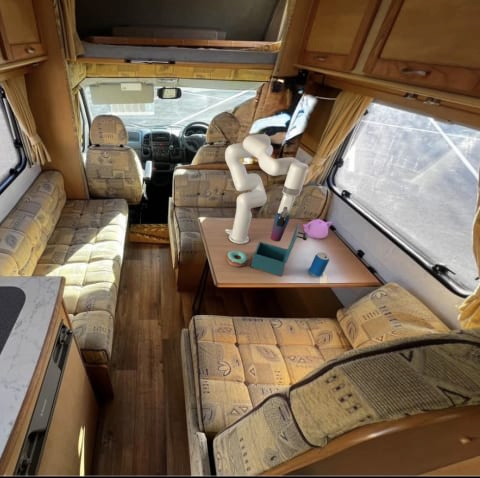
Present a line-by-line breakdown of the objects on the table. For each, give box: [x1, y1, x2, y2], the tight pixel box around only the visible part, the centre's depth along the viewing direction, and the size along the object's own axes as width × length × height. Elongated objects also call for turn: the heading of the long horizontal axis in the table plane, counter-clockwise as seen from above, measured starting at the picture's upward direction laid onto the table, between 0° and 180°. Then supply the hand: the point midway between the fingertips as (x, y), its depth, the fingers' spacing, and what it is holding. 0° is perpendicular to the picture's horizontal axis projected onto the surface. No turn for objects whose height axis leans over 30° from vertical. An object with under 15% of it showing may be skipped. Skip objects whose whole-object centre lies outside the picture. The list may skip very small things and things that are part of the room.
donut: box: [226, 250, 249, 268], centre depth 147 cm, size 12×12×4 cm
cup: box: [270, 210, 292, 242], centre depth 132 cm, size 7×7×15 cm
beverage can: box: [308, 252, 330, 277], centre depth 137 cm, size 6×6×12 cm
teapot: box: [302, 218, 333, 240], centre depth 169 cm, size 14×20×11 cm
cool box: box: [250, 241, 288, 277], centre depth 144 cm, size 16×14×9 cm
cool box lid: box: [285, 223, 308, 264], centre depth 132 cm, size 16×14×6 cm
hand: (280, 222), depth 131 cm, fingers closed on cup, 6 cm apart
